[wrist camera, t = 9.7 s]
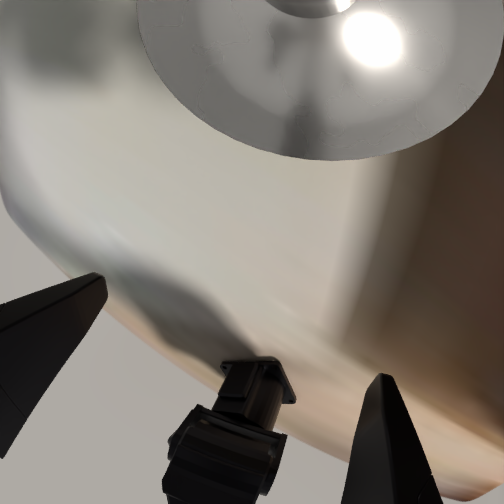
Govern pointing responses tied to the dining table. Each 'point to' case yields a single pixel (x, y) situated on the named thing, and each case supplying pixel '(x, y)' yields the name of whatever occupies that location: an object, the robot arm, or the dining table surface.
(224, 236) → the dining table surface
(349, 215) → the dining table surface
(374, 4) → the lid
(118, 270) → the dining table surface
